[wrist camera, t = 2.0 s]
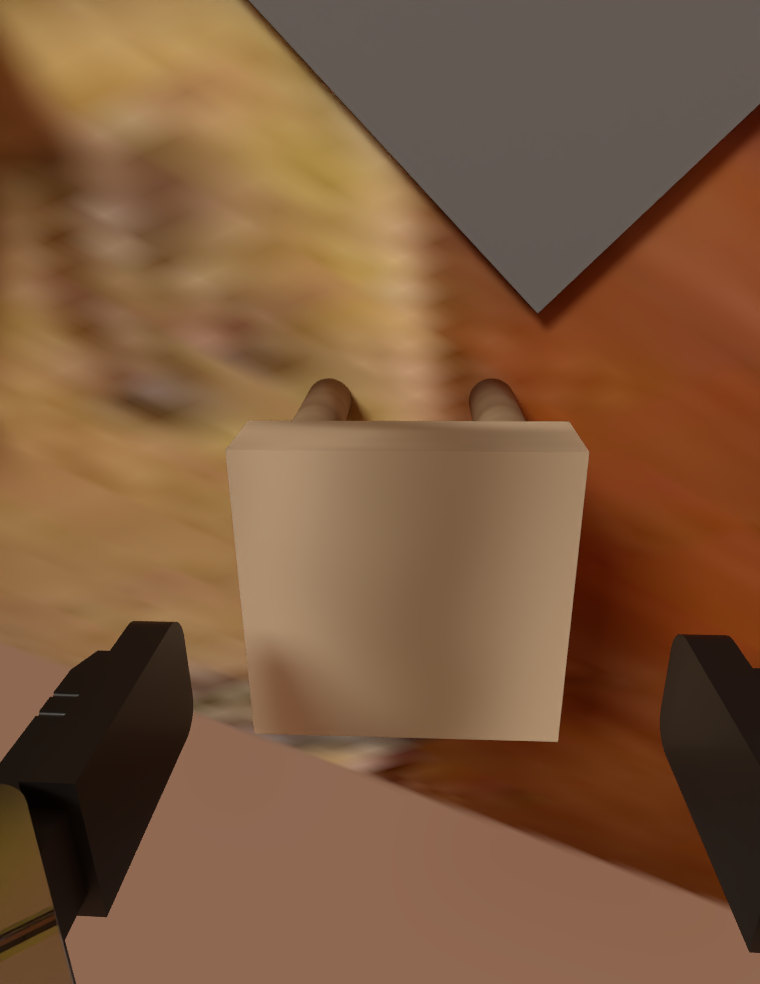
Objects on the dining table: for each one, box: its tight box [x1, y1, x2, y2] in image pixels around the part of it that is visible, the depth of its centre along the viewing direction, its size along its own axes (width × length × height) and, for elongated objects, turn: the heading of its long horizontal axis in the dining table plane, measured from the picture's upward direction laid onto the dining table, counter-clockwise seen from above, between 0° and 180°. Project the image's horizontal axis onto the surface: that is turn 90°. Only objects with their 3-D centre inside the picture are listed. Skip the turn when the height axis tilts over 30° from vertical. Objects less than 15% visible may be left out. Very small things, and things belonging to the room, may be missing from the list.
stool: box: [226, 379, 589, 742], centre depth 17 cm, size 6×6×7 cm
